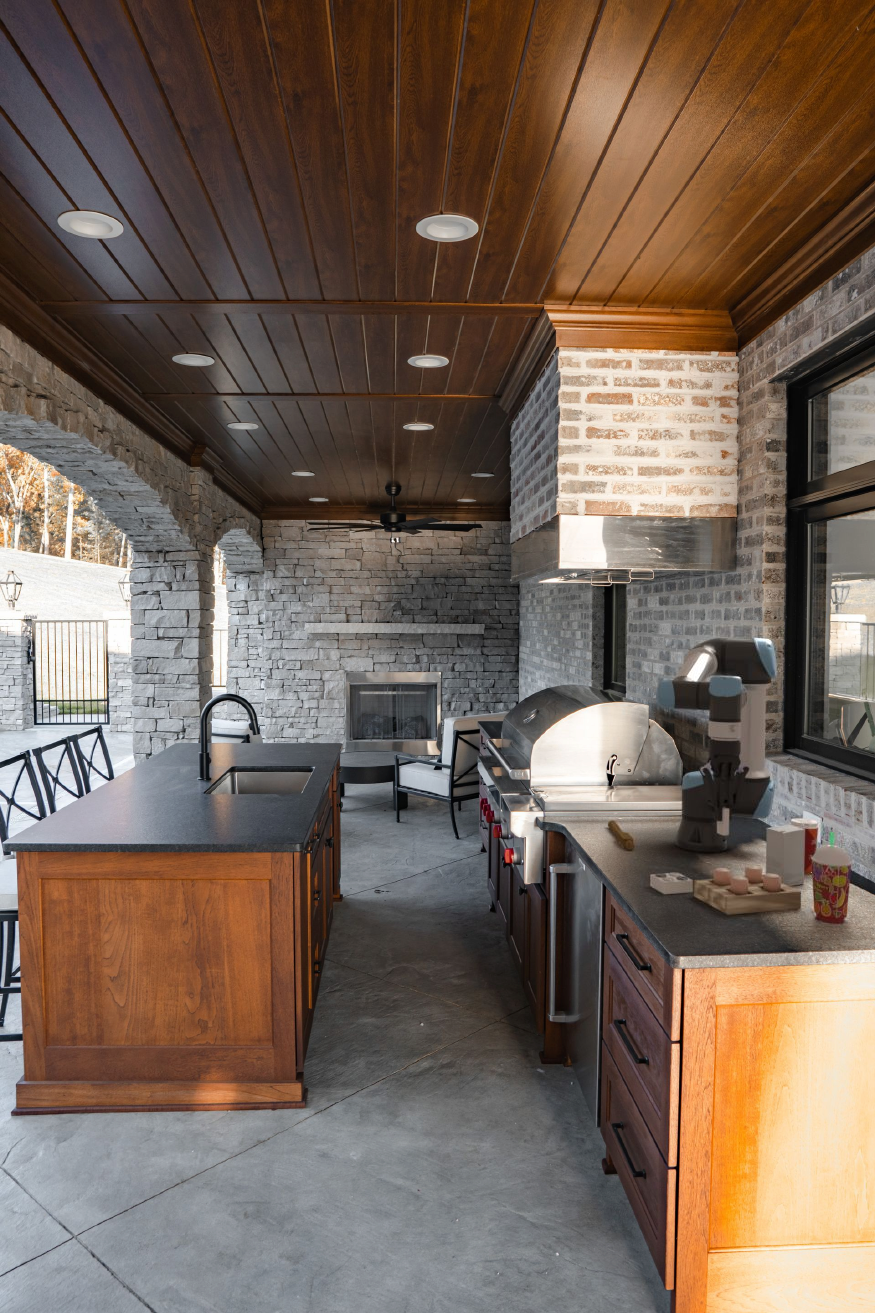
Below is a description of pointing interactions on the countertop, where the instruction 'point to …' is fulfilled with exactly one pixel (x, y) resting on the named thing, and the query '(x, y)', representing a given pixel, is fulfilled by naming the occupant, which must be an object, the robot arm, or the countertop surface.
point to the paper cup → (808, 839)
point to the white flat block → (671, 883)
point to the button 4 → (771, 883)
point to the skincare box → (786, 853)
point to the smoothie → (831, 882)
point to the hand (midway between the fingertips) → (722, 834)
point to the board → (746, 898)
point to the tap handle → (621, 836)
